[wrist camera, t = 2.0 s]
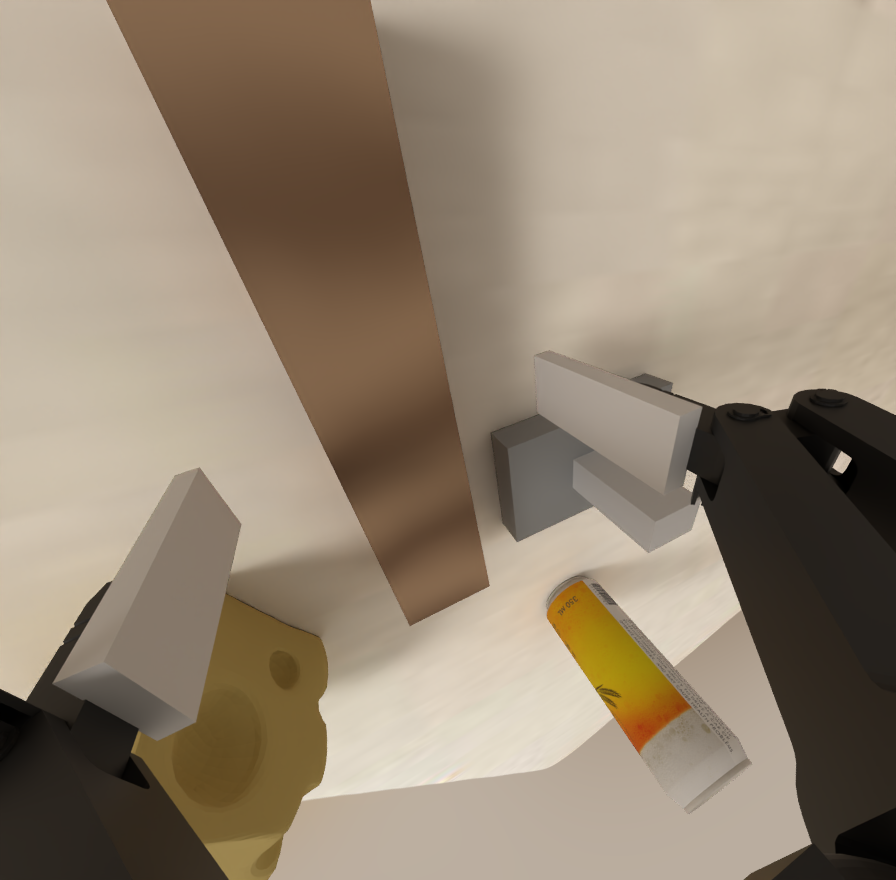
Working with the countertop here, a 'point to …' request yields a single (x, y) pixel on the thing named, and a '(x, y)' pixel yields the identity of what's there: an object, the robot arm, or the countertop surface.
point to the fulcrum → (580, 484)
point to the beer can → (646, 695)
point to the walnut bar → (325, 255)
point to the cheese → (248, 741)
